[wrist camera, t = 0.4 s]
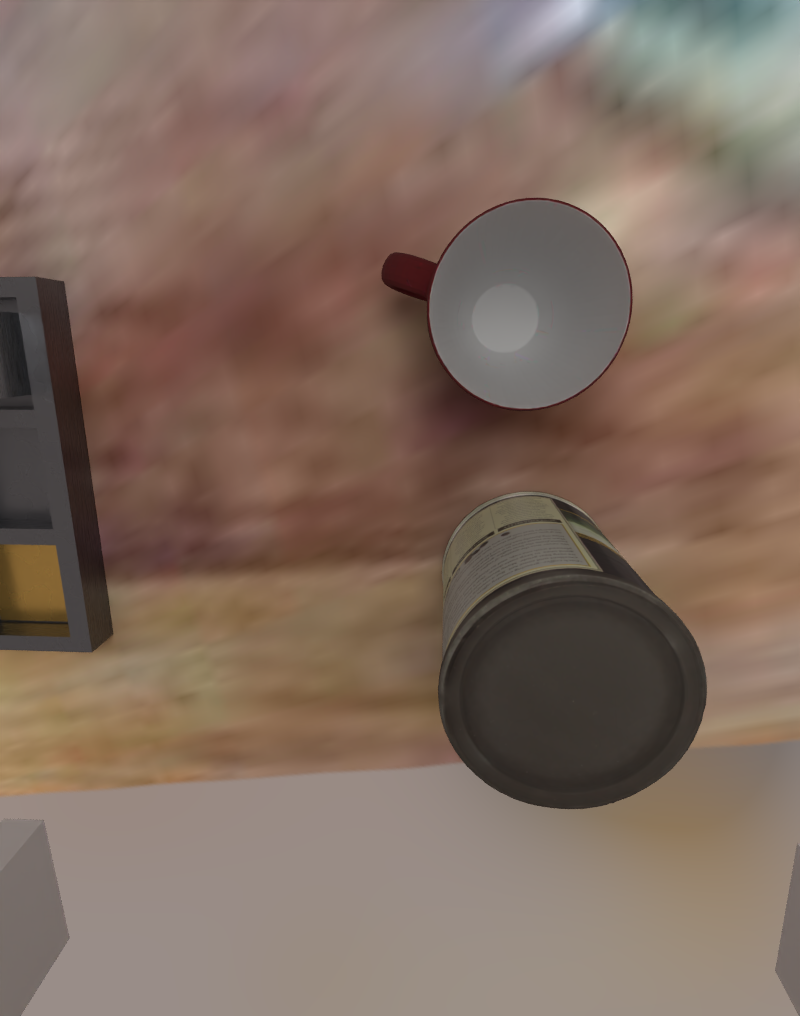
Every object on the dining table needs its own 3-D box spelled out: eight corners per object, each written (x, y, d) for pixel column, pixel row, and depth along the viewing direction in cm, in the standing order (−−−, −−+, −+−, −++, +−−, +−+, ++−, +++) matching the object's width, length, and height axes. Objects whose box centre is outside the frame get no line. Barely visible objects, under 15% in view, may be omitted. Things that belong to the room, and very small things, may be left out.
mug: (375, 367, 35) (348, 376, 25) (403, 216, 33) (386, 162, 23) (556, 406, 35) (599, 430, 25) (597, 257, 32) (662, 220, 23)
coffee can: (633, 511, 36) (750, 613, 22) (581, 663, 39) (655, 836, 25) (463, 470, 36) (475, 547, 22) (423, 625, 39) (411, 777, 25)
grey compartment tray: (-79, 283, 35) (-118, 279, 33) (63, 281, 35) (35, 276, 32) (-11, 630, 41) (-39, 648, 39) (112, 633, 40) (92, 652, 38)
